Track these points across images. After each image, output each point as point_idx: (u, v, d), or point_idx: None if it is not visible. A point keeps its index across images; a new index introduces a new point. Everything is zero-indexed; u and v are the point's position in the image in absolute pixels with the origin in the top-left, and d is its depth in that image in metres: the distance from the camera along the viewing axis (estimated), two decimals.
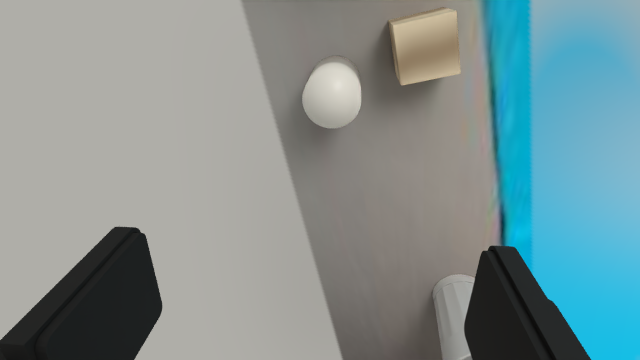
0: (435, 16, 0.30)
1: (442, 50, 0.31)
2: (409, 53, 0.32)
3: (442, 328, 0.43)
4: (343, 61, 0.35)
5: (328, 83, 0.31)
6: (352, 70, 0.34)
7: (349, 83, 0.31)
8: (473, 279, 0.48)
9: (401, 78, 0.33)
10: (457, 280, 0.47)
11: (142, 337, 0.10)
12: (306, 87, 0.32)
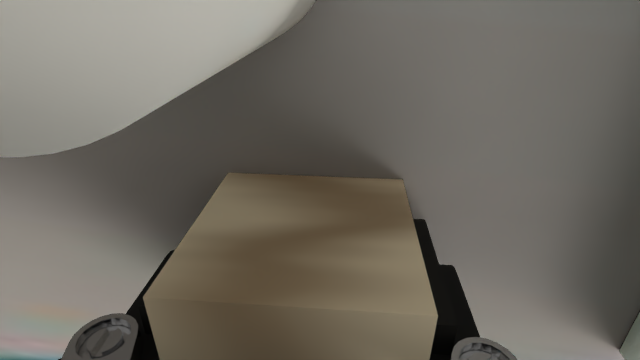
0: None
1: None
2: (287, 349, 0.07)
3: None
4: None
5: None
6: (255, 48, 0.06)
7: (100, 62, 0.03)
8: None
9: (178, 304, 0.07)
10: None
11: None
12: None
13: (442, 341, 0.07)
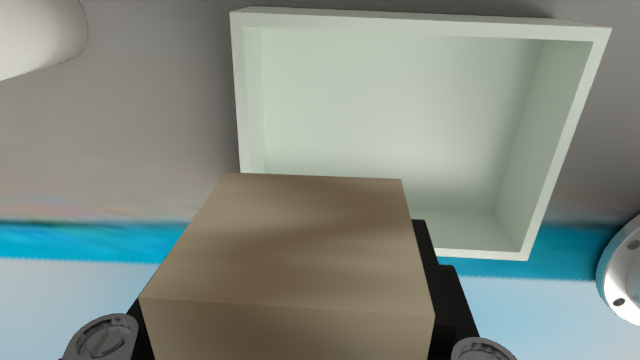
0: None
1: None
2: (284, 350, 0.07)
3: None
4: (62, 48, 0.21)
5: None
6: (35, 67, 0.20)
7: None
8: None
9: (173, 304, 0.06)
10: None
11: None
12: None
13: (442, 341, 0.07)
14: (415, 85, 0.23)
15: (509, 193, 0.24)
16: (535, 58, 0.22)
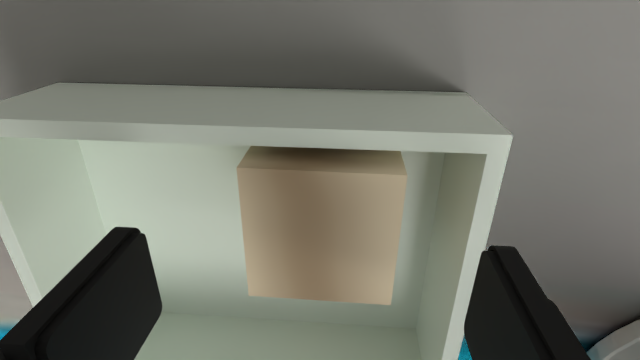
0: (393, 267, 0.12)
1: (310, 270, 0.13)
2: (320, 202, 0.12)
3: None
4: None
5: None
6: None
7: None
8: None
9: (257, 172, 0.11)
10: None
11: (142, 337, 0.10)
12: None
13: None
14: None
15: (425, 315, 0.18)
16: None
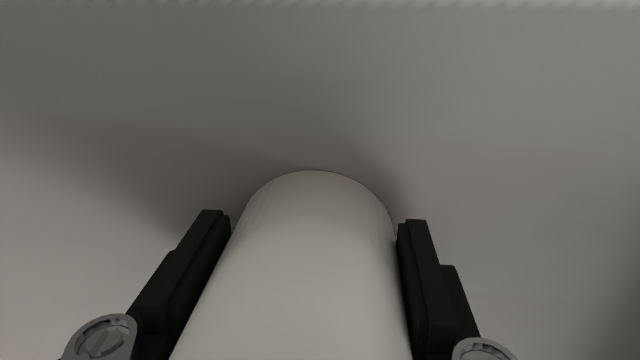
0: None
1: None
2: None
3: None
4: None
5: None
6: None
7: None
8: None
9: None
10: None
11: None
12: None
13: (443, 341, 0.07)
14: None
15: None
16: None
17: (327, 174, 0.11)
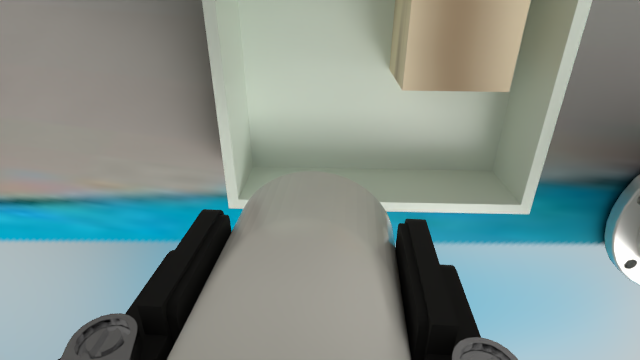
0: (515, 56, 0.17)
1: (453, 62, 0.17)
2: None
3: None
4: None
5: None
6: None
7: None
8: None
9: None
10: None
11: None
12: None
13: (443, 341, 0.07)
14: None
15: (507, 145, 0.23)
16: None
17: (326, 175, 0.11)
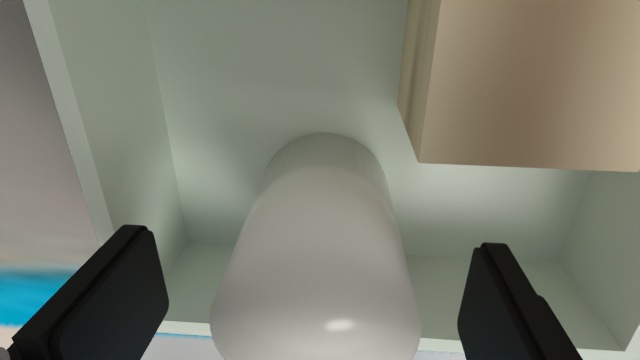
0: None
1: (528, 111, 0.08)
2: None
3: None
4: None
5: (374, 334, 0.09)
6: None
7: None
8: None
9: None
10: None
11: (150, 334, 0.10)
12: (379, 273, 0.08)
13: None
14: None
15: (592, 234, 0.14)
16: None
17: (335, 136, 0.14)
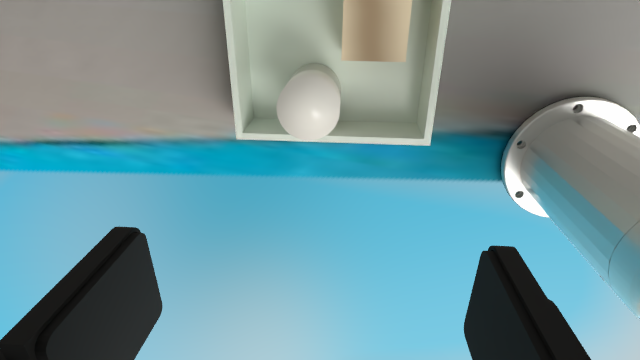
0: (406, 40, 0.29)
1: (370, 43, 0.29)
2: (377, 5, 0.28)
3: None
4: None
5: (326, 110, 0.30)
6: None
7: (322, 131, 0.30)
8: None
9: None
10: None
11: (142, 337, 0.10)
12: (326, 86, 0.29)
13: None
14: None
15: (421, 103, 0.35)
16: (429, 3, 0.32)
17: (319, 64, 0.35)
